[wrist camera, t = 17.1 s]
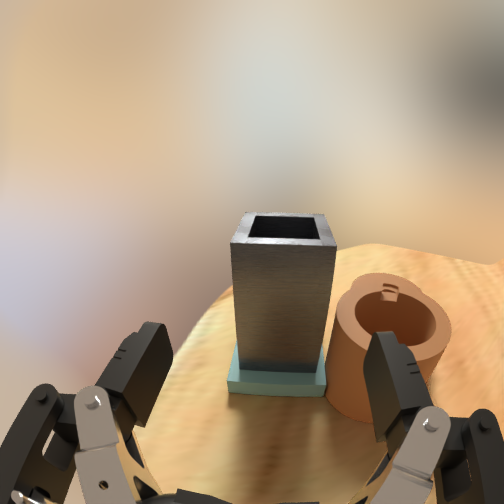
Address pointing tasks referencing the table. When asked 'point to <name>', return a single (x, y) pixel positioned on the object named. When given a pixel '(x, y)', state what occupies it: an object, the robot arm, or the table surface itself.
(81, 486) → the robot arm
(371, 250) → the table surface
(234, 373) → the shaft mount
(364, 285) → the bracket
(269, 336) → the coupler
